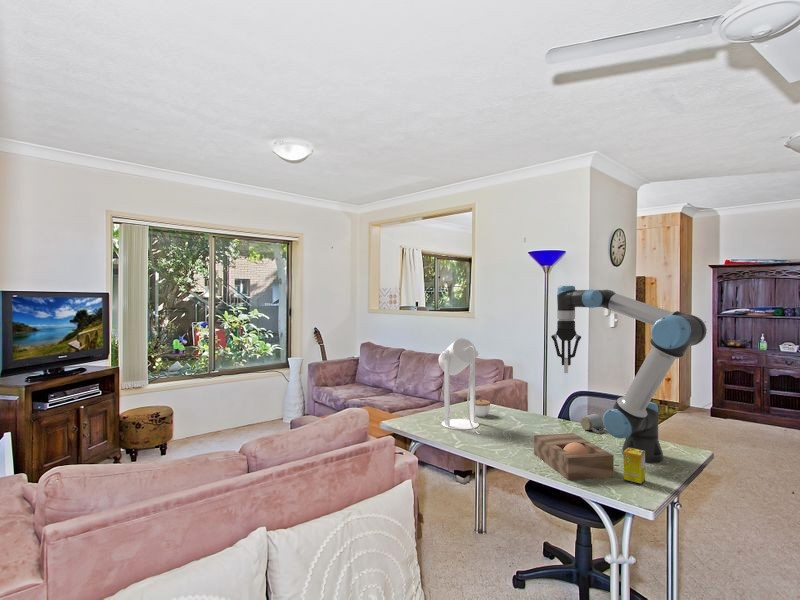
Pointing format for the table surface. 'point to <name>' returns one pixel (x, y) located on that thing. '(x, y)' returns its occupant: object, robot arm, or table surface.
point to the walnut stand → (573, 457)
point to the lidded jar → (482, 407)
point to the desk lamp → (452, 364)
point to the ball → (575, 449)
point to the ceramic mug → (592, 423)
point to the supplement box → (634, 466)
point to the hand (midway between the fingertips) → (566, 372)
